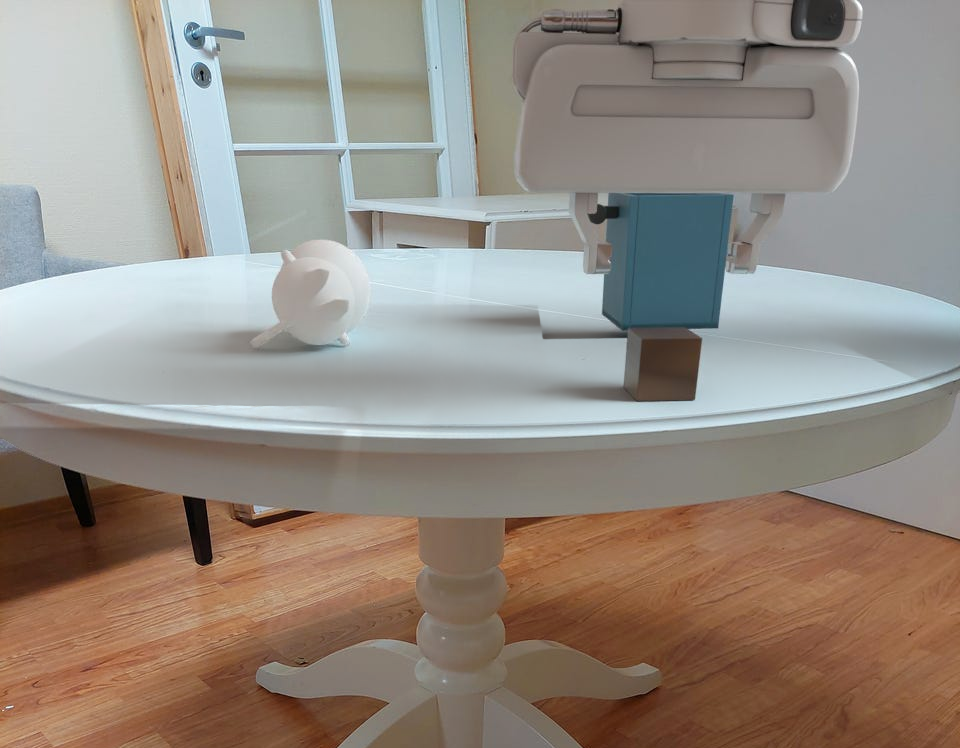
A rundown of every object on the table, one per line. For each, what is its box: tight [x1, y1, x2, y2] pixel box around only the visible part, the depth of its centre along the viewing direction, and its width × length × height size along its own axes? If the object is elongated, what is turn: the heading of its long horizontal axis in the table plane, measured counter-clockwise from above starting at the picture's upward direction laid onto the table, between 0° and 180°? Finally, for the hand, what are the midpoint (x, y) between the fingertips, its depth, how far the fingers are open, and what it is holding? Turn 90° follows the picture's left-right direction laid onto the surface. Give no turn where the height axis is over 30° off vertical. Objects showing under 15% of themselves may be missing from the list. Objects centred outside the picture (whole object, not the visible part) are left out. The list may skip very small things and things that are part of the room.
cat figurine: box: [250, 238, 372, 349], centre depth 75 cm, size 9×11×12 cm
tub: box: [587, 193, 735, 332], centre depth 82 cm, size 12×9×11 cm
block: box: [623, 327, 703, 402], centre depth 60 cm, size 4×4×4 cm
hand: (668, 273), depth 57 cm, fingers open, 8 cm apart
